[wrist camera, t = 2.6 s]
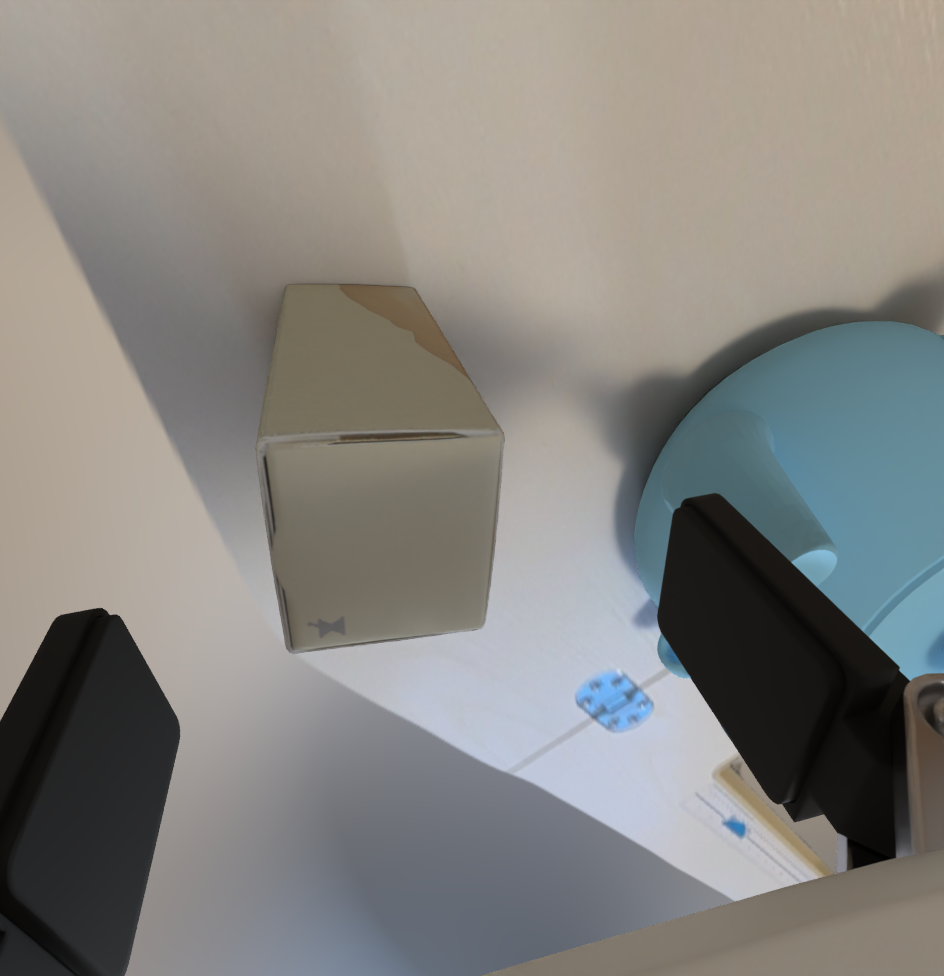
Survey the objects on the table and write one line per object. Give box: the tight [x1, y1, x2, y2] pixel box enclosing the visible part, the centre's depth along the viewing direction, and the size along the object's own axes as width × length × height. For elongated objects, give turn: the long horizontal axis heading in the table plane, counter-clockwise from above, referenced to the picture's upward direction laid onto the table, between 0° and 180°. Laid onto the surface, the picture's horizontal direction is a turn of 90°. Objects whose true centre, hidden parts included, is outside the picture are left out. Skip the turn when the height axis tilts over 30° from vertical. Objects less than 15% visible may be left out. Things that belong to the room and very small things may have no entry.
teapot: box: [634, 321, 944, 740], centre depth 23 cm, size 17×19×12 cm
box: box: [256, 284, 505, 654], centre depth 16 cm, size 5×4×11 cm
